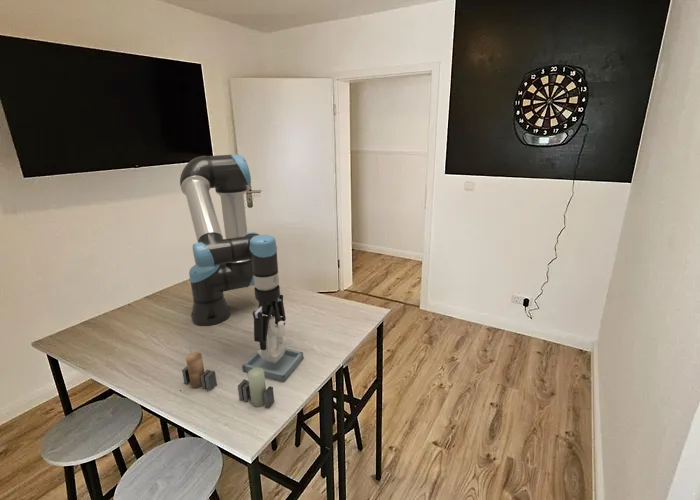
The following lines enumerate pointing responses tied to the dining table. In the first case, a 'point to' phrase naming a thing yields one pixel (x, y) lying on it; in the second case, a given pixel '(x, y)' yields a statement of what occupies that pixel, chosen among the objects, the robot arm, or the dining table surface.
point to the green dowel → (257, 386)
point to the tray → (275, 365)
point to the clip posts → (243, 388)
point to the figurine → (275, 347)
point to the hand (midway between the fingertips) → (272, 349)
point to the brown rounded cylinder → (195, 369)
